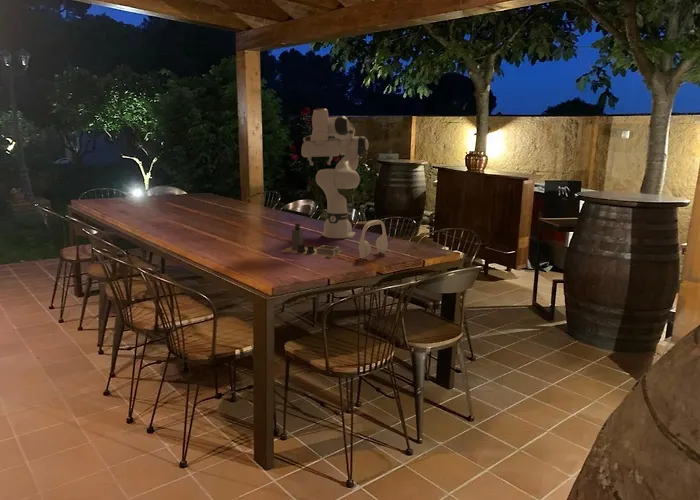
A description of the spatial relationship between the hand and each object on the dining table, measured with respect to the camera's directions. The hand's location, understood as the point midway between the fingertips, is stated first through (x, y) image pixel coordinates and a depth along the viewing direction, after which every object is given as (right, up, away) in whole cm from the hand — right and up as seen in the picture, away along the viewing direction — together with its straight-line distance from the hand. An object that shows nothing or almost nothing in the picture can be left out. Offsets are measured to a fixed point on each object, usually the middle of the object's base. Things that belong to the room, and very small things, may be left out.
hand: (320, 164), depth 294 cm
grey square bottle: (-11, -45, -13) cm, 48 cm away
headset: (+27, -48, -19) cm, 58 cm away
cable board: (-3, -46, -15) cm, 49 cm away
